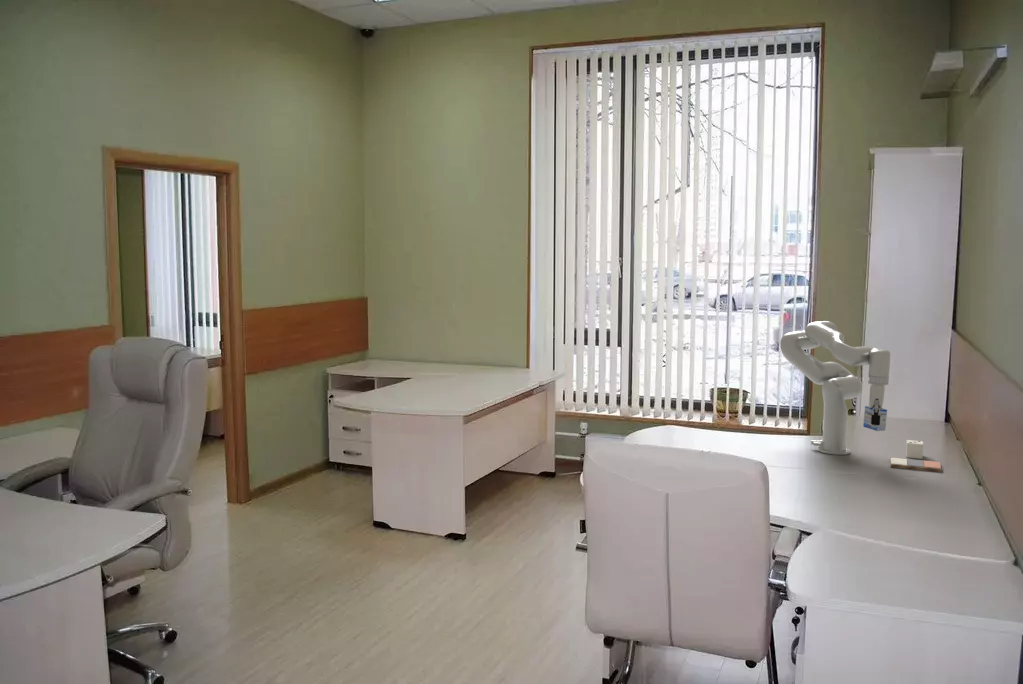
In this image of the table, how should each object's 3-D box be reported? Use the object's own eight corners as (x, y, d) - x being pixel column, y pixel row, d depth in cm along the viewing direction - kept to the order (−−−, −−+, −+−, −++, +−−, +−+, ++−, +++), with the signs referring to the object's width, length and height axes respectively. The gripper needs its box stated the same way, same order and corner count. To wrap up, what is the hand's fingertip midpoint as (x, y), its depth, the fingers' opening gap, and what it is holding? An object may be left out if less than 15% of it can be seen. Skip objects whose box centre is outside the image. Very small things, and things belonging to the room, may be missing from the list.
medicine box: (862, 426, 349) (864, 405, 348) (871, 426, 351) (873, 405, 350) (876, 431, 342) (878, 409, 341) (885, 430, 343) (887, 409, 342)
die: (906, 457, 355) (907, 442, 355) (906, 453, 361) (906, 439, 360) (922, 458, 353) (923, 444, 352) (921, 455, 359) (922, 441, 358)
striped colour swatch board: (890, 467, 340) (890, 464, 339) (890, 460, 351) (890, 456, 350) (941, 472, 332) (941, 468, 332) (939, 464, 343) (939, 461, 343)
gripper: (868, 375, 353) (865, 417, 355) (867, 382, 337) (864, 425, 339) (888, 377, 350) (885, 418, 352) (888, 384, 334) (885, 427, 337)
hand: (875, 422), depth 346 cm, fingers closed on medicine box, 8 cm apart
